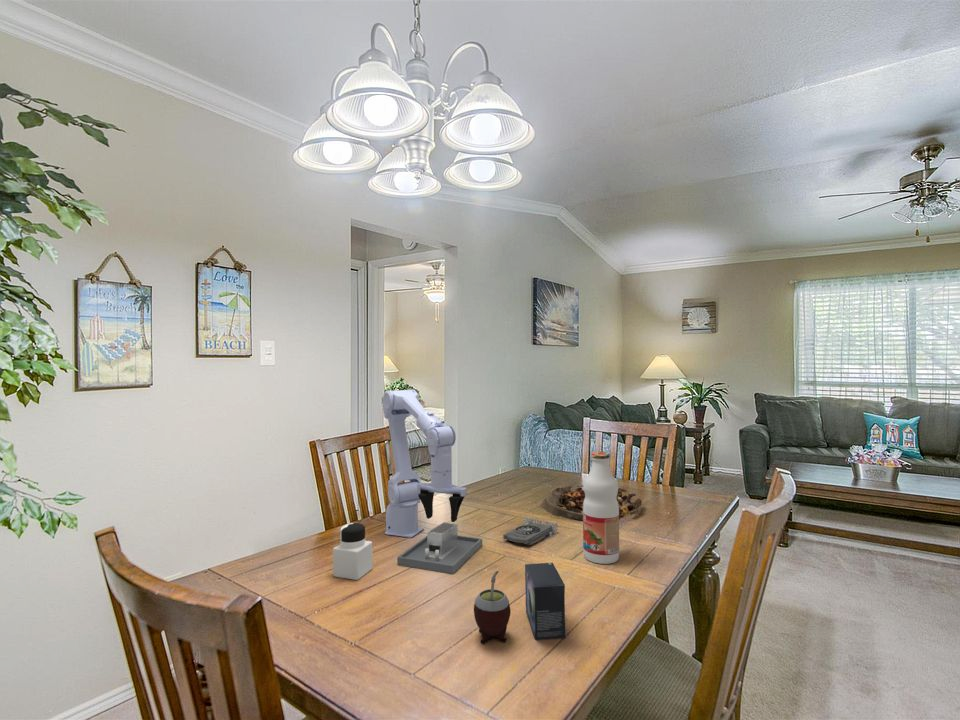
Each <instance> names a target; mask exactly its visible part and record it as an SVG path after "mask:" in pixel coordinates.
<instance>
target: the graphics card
mask: <svg viewBox="0 0 960 720" xmlns="http://www.w3.org/2000/svg"><path fill="white" fill-rule="evenodd" d="M522 519H523V521H524V523H523V524H522V525H519V526H517V527H515V528H514V529H511V530H510V531H507V532H506V533H504V534H503V535H502V536H503V537H502V538H503V540H508V541H510V542H513V543H519V544H523V545H530V546H532V545H533V544H535V543H537V542H539V541H540V540H542V539H543V541H544V540H545V541H547V540H548V539H550V538H551V537H554V536H556V535H557V534H558V522H556V523H555V522H553V521H548V520H544V519H539V518H533V517H529V516H525V517H523V518H522Z"/></svg>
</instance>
